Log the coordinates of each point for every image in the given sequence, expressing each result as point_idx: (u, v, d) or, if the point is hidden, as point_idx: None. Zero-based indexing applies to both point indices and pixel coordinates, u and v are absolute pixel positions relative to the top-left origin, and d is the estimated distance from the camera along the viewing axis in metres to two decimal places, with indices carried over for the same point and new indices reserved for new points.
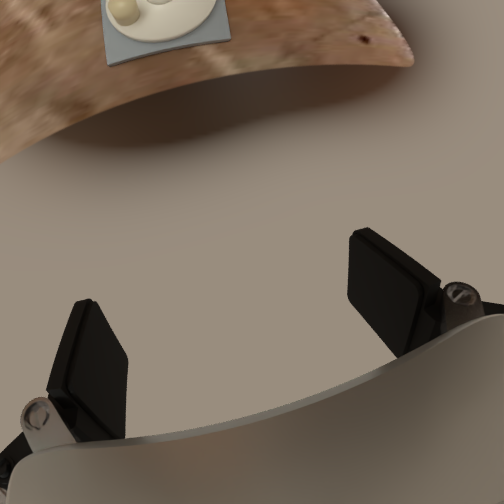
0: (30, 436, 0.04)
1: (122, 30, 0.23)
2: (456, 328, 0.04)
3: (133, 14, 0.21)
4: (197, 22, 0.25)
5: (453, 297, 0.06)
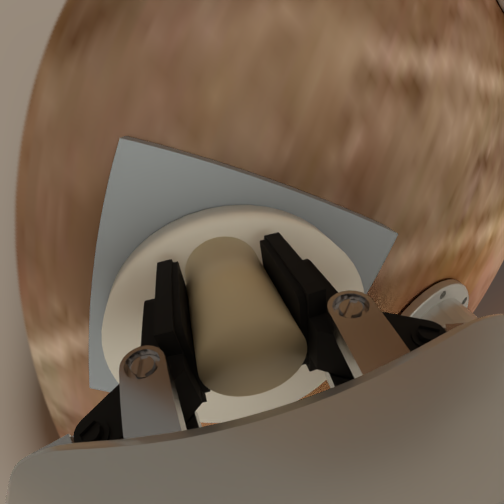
0: (139, 384, 0.05)
1: (181, 241, 0.11)
2: (456, 328, 0.04)
3: None
4: None
5: (342, 312, 0.07)
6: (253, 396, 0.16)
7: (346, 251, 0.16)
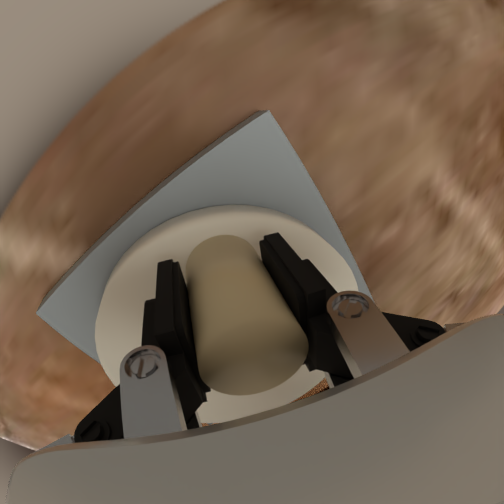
0: (139, 384, 0.05)
1: (184, 236, 0.10)
2: (456, 328, 0.04)
3: None
4: (112, 379, 0.13)
5: (342, 312, 0.07)
6: (243, 398, 0.16)
7: None
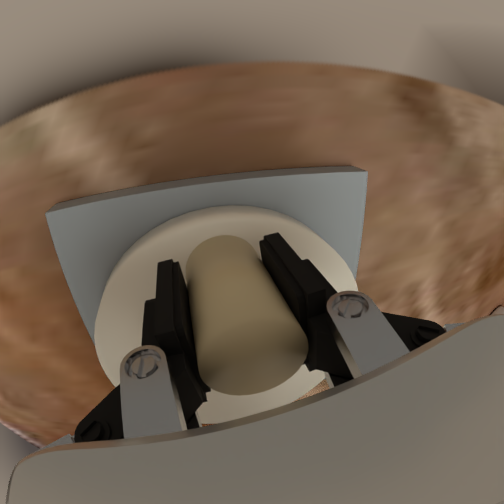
0: (139, 384, 0.05)
1: (184, 236, 0.11)
2: (456, 328, 0.04)
3: None
4: (111, 378, 0.13)
5: (341, 312, 0.07)
6: (242, 399, 0.16)
7: None
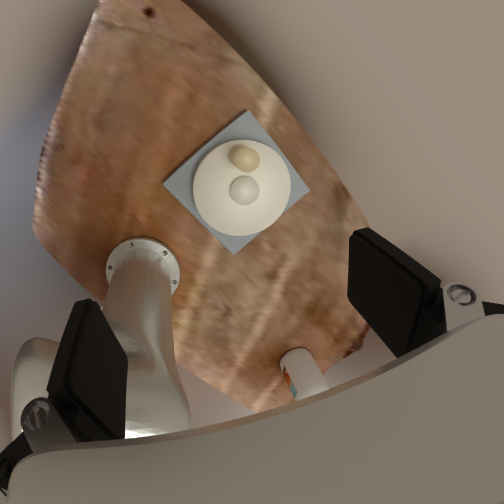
0: (30, 436, 0.04)
1: (228, 144, 0.36)
2: (456, 328, 0.04)
3: (232, 161, 0.35)
4: (196, 202, 0.39)
5: (453, 297, 0.06)
6: (247, 217, 0.42)
7: None
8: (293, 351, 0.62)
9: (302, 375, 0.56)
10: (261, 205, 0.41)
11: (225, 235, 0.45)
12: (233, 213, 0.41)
